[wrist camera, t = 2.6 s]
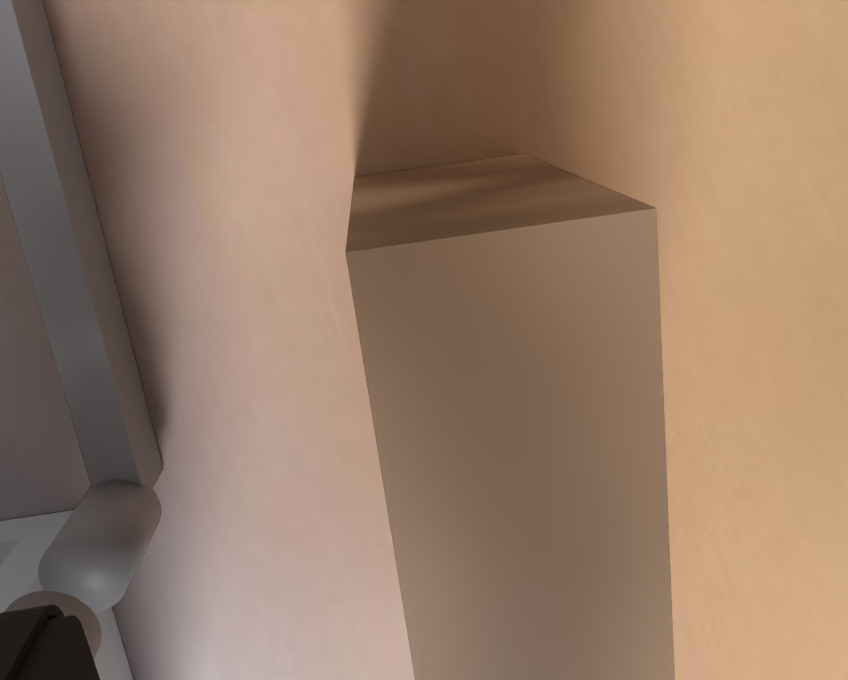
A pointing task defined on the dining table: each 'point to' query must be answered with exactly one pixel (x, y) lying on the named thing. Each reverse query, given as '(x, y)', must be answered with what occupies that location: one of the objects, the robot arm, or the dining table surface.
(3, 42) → the cabinet
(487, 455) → the door
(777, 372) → the dining table surface
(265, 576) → the dining table surface
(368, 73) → the dining table surface
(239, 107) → the dining table surface
